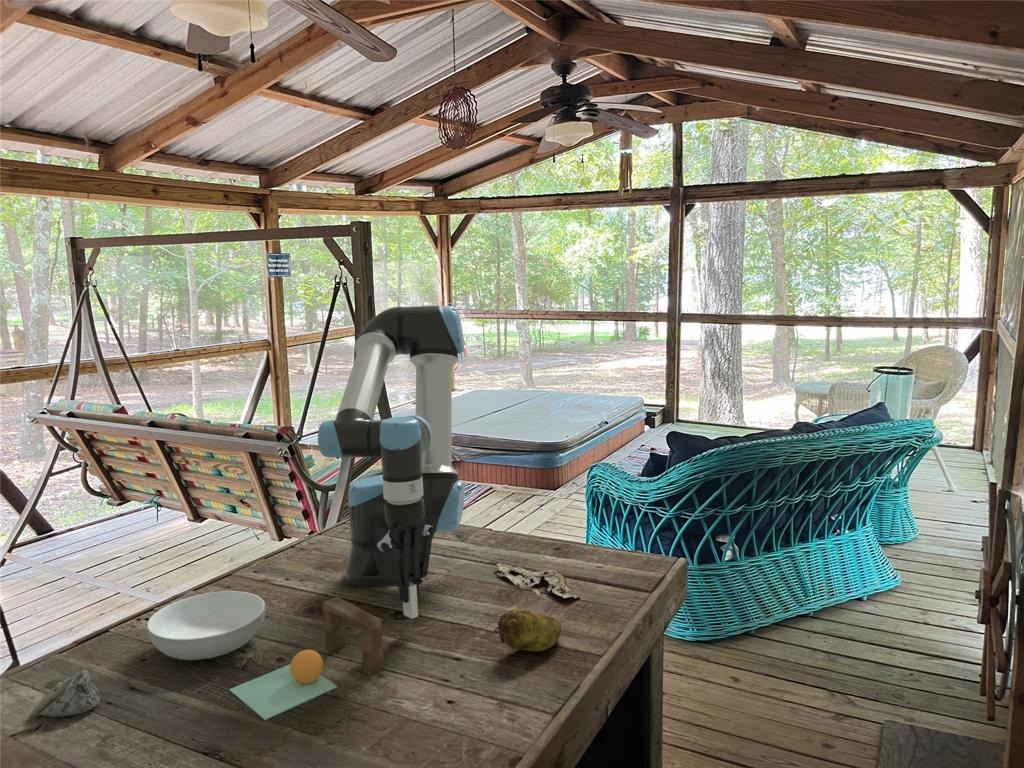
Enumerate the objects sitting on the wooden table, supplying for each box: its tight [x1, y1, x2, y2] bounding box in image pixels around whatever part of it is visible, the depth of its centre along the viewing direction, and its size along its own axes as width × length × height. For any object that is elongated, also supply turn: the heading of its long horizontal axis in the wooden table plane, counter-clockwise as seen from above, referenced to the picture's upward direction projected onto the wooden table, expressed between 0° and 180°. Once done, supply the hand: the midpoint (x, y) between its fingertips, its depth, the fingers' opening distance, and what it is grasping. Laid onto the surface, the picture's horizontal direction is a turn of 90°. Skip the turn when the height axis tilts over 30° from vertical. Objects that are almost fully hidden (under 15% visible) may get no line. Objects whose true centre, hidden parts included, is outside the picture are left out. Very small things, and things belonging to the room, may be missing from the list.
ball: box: [290, 649, 324, 684], centre depth 128 cm, size 6×6×6 cm
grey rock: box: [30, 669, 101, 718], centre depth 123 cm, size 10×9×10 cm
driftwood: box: [495, 562, 580, 599], centre depth 166 cm, size 25×10×5 cm
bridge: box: [322, 596, 385, 676], centre depth 135 cm, size 3×14×9 cm, turn 45°
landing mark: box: [228, 663, 338, 721], centre depth 126 cm, size 13×13×1 cm
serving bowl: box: [146, 590, 266, 661], centre depth 142 cm, size 21×21×7 cm
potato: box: [497, 608, 562, 653], centre depth 136 cm, size 8×13×8 cm, turn 108°
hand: (410, 615), depth 145 cm, fingers closed
